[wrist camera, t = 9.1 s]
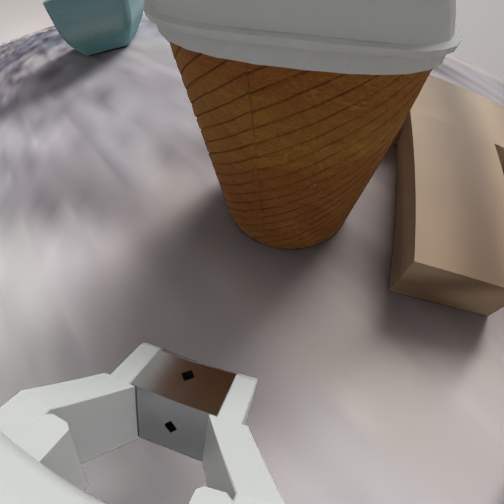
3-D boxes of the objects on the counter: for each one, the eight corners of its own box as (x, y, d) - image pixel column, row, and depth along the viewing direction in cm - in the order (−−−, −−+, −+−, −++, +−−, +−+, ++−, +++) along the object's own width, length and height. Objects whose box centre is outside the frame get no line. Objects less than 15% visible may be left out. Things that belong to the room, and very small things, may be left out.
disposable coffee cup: (191, 287, 14) (78, 11, 4) (201, 138, 19) (169, -54, 8) (396, 275, 14) (542, 49, 4) (354, 135, 19) (393, -46, 8)
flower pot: (142, 50, 26) (124, -27, 18) (65, 70, 26) (40, 3, 18) (156, 21, 30) (145, -41, 22) (90, 37, 30) (73, -20, 22)
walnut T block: (201, 242, 15) (189, 204, 13) (281, 71, 22) (282, 39, 20) (576, 338, 12) (607, 322, 9) (540, 159, 19) (555, 137, 16)
